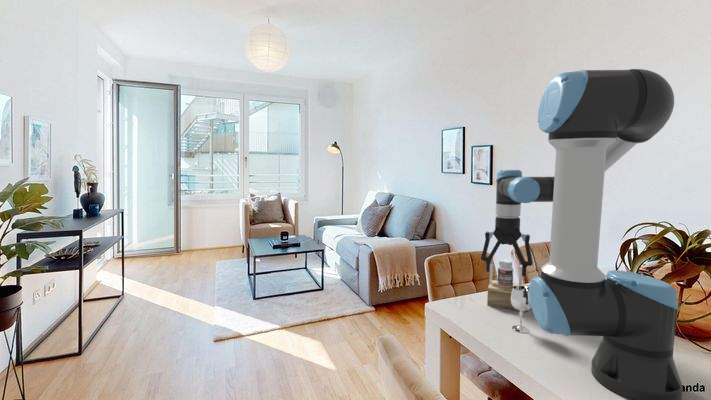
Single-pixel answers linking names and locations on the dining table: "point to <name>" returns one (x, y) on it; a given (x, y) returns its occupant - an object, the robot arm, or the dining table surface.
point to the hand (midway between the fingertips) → (505, 283)
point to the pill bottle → (505, 274)
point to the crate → (500, 300)
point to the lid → (494, 287)
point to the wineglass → (520, 305)
